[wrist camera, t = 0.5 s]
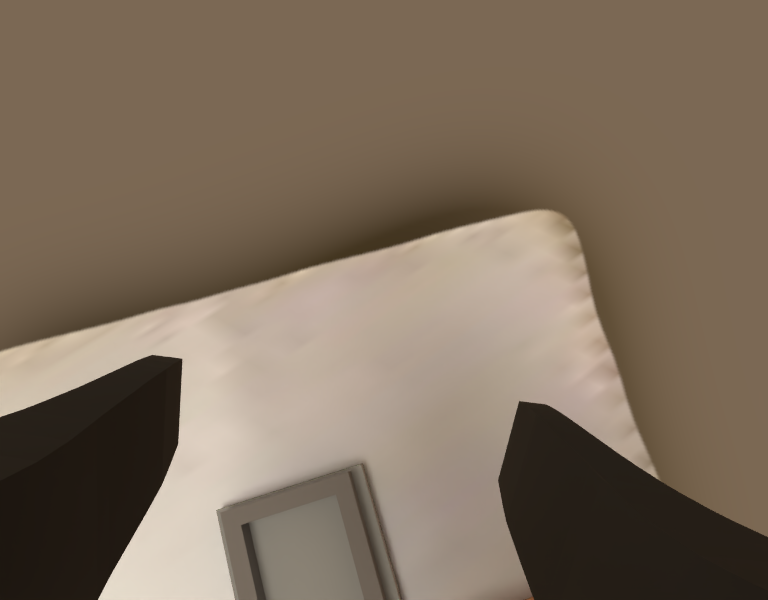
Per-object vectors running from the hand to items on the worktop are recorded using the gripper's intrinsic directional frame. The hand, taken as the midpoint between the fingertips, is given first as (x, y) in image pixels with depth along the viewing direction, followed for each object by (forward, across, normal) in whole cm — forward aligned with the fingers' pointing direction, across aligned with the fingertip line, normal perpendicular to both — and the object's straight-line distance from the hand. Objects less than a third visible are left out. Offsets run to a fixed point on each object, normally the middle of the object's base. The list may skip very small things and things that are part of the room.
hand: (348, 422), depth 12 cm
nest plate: (+16, -1, +21) cm, 26 cm away
